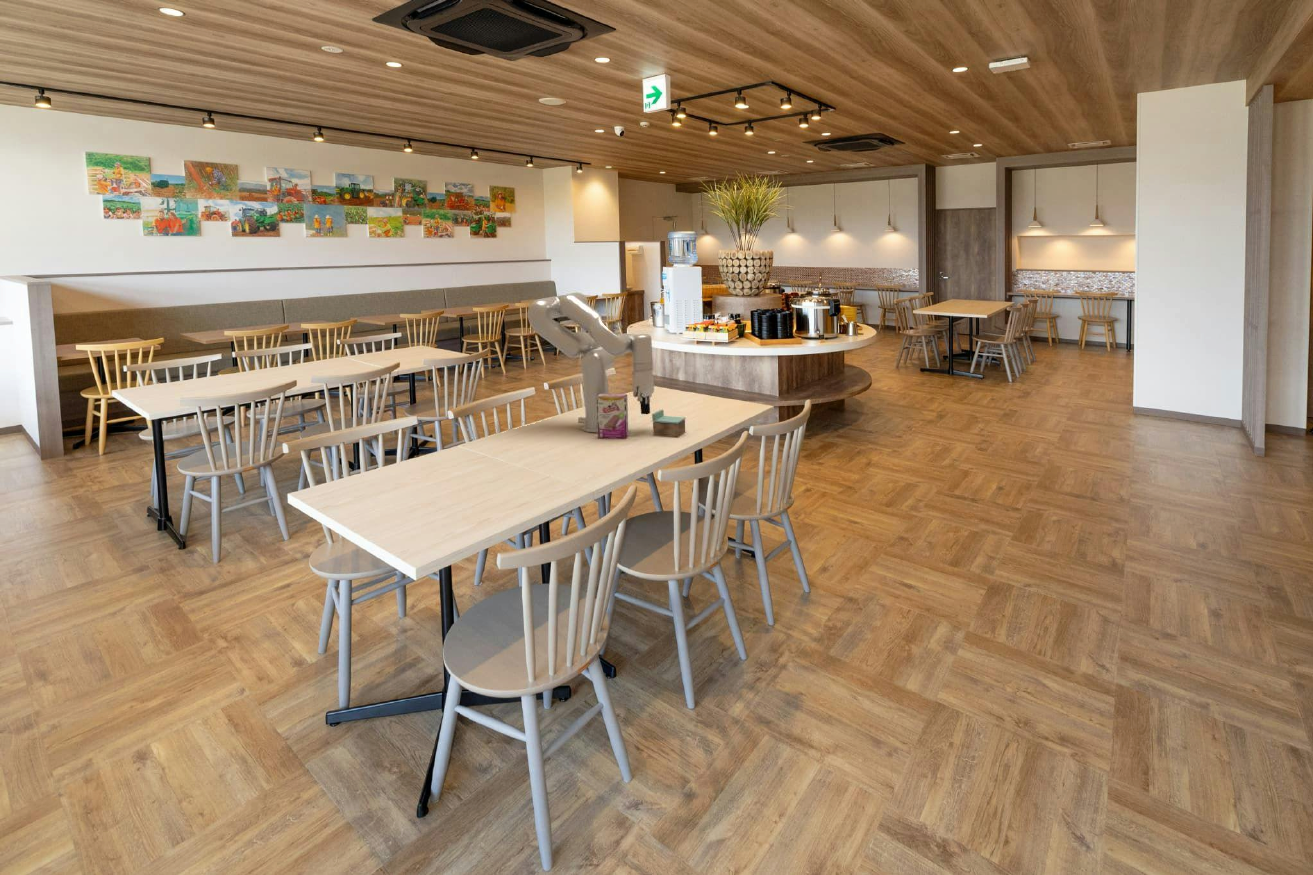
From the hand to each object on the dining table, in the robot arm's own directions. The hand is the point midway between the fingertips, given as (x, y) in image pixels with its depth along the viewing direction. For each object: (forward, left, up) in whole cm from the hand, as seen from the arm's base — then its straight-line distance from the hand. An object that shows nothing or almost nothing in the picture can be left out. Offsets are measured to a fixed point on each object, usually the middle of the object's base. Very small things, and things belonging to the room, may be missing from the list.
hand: (645, 413), depth 285 cm
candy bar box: (-9, -11, -8) cm, 16 cm away
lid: (+10, 0, -2) cm, 10 cm away
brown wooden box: (+10, 0, -7) cm, 12 cm away
